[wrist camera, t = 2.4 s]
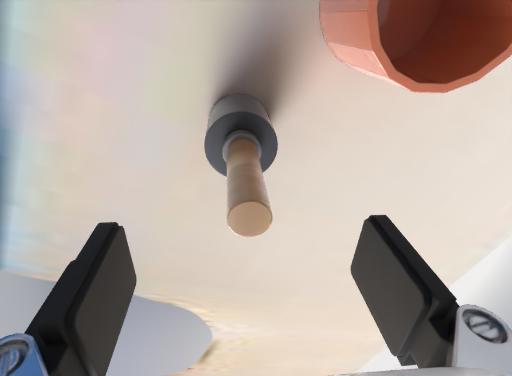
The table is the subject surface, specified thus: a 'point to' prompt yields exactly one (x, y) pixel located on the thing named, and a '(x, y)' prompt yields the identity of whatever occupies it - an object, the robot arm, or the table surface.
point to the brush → (242, 160)
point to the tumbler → (419, 39)
